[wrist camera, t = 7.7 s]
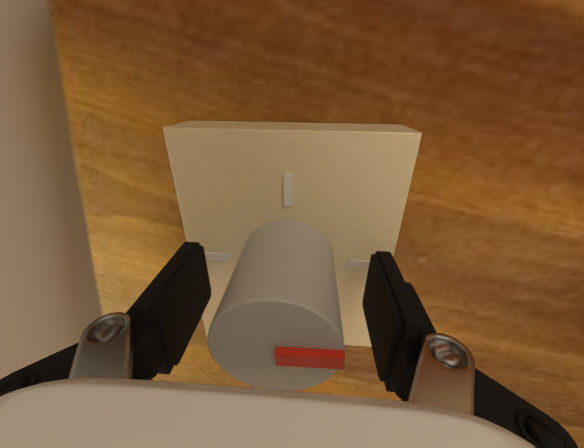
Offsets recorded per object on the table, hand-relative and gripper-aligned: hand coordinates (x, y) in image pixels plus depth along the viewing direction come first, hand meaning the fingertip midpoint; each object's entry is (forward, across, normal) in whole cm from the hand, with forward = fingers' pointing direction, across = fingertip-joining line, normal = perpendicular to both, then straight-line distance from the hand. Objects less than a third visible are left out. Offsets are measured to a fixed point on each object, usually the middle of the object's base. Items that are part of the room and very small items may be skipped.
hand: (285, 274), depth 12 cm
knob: (+1, 0, 0) cm, 1 cm away
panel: (+4, 0, 0) cm, 4 cm away
